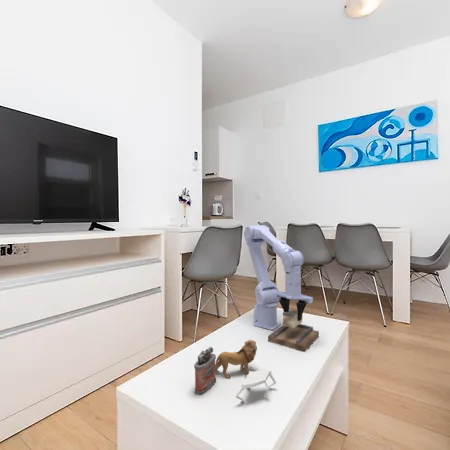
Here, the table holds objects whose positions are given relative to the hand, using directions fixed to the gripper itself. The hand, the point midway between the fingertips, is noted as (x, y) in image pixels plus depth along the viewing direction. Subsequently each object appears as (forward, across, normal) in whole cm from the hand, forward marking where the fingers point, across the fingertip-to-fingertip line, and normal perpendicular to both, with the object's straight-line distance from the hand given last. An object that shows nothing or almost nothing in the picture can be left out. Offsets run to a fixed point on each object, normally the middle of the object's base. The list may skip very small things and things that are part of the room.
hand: (293, 318), depth 104 cm
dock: (+8, 0, 0) cm, 8 cm away
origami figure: (+8, +5, -37) cm, 38 cm away
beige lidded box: (+2, 0, 0) cm, 2 cm away
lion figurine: (+8, -5, -31) cm, 32 cm away
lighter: (+8, -8, -42) cm, 43 cm away
